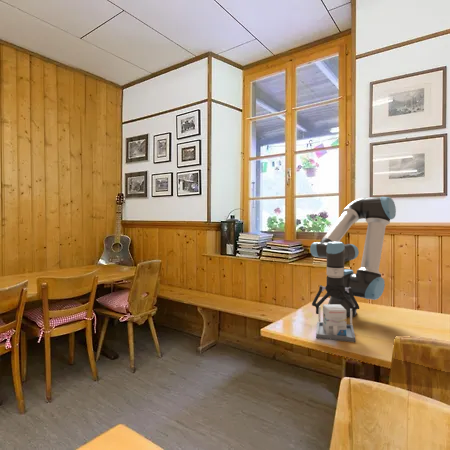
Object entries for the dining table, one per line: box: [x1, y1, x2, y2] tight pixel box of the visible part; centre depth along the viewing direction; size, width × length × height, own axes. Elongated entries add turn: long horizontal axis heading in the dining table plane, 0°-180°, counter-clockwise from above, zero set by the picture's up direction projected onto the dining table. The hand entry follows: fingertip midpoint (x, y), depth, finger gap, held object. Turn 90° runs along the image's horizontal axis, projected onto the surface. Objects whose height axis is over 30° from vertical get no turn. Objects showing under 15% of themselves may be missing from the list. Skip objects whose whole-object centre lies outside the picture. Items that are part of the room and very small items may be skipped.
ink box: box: [322, 303, 347, 335], centre depth 146 cm, size 8×8×12 cm
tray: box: [315, 321, 356, 343], centre depth 146 cm, size 16×16×6 cm
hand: (335, 322), depth 146 cm, fingers open, 13 cm apart
